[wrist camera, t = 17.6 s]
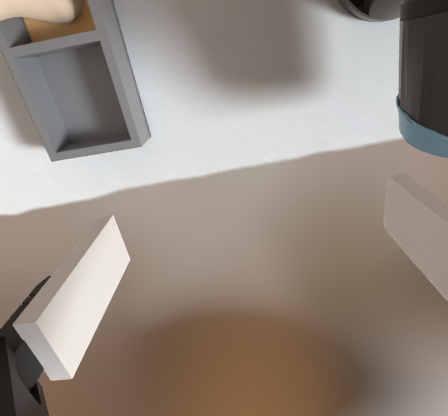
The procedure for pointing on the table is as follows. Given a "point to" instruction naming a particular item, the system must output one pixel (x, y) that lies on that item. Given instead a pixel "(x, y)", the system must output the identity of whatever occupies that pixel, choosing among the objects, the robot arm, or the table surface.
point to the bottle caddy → (76, 82)
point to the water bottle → (42, 10)
